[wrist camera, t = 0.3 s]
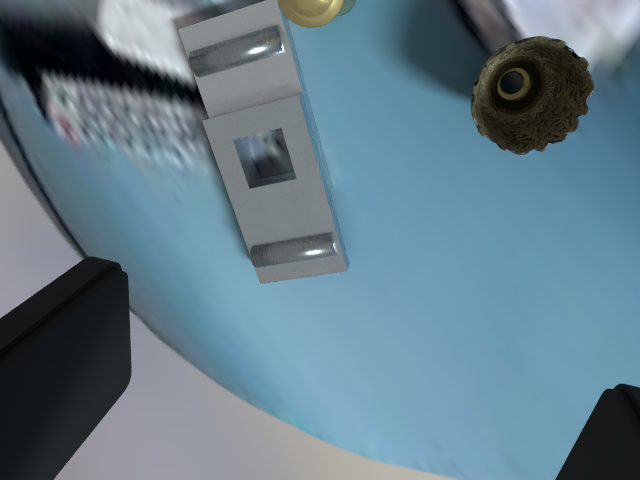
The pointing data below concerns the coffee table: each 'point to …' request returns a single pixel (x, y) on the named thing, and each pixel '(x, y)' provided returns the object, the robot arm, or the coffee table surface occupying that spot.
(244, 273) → the coffee table surface
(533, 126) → the cup
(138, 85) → the coffee table surface
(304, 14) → the brass pin
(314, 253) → the plate with square hole
